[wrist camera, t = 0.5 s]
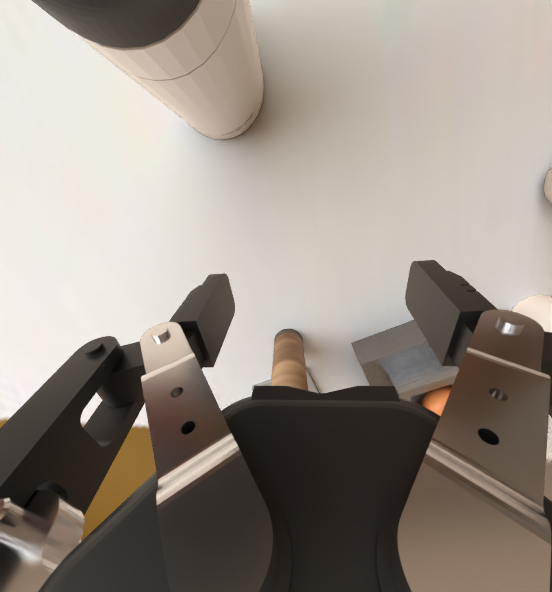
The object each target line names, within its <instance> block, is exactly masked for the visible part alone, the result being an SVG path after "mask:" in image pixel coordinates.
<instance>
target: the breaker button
mask: <svg viewBox="0 0 552 592" xmlns="http://www.w3.org/2000/svg"><path fill="white" fill-rule="evenodd" d="M452 386H453V385H447V386H444V387H441V388H438V389H435V390H431V391H428V392H427V393H426V394H425V395H424V396H423V398H422V401H421V406H423V407H425V408H427V409H429V410H431V411H433V412H435V413H436V414H438V415H439V416H441V414H442V411H443V409H444V406H445V404H446V401H447V399H448V396H449V394H450V391H451V389H452Z"/></svg>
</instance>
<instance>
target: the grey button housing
mask: <svg viewBox="0 0 552 592" xmlns="http://www.w3.org/2000/svg"><path fill="white" fill-rule="evenodd" d="M351 344H352V346H353V349H354V351H355V353H356V356H357V358H358V360H359V363H360V365H361V367H362V370H363V372H364V374H365V376H366V379H367V381H368V383H369V386H395V388H396V391H397V394H398V397H399V398H401V399H405V400H408V401H411V402H414V403H416V404H419V405H421V401H422V398H423V396H424V395H425V394H426V393H427V392H428V391H431V390H435V389H438V388H441V387H444V386H447V385H453V384H454V381H455V379H456V376H457V374H458V371H459V368H458V367H457V366H442V365H441V363H440V362H439V360H438V358H437V357H436V355H435V353H434V352H433V350H432V348H431V347H430V345H429V343H428V342H427V340H426V338H425V337H424V335H423V333H422V331H421V330H420V328H419V326H418V325H417V323H416V321H415V320H412V321H410V322H407V323H404V324H402V325H399V326H396V327H394V328H391V329H388V330H386V331H383V332H380V333H378V334H375V335H372V336H370V337H367V338H364V339H362V340H359V341H356V342H354V343H351Z"/></svg>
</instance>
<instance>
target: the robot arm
mask: <svg viewBox="0 0 552 592" xmlns="http://www.w3.org/2000/svg"><path fill="white" fill-rule="evenodd" d="M32 1H33V2H34V3H36V4H37V5H38V6H39V7H41V8H42V9H43V10H45V11H46V12H47V13H48V14H50V15H51V16H52V17H53V18H55V19H56V20H57V21H59V22H60V23H61V24H63V25H64V26H65V27H66V28H68V29H69V30H70V31H72V32H73V33H74V34H75V35H77V36H78V37H79V38H80V39H82V40H83V41H84V42H85V43H87V44H88V45H89V46H91V47H92V48H93V49H94V50H96V51H97V52H98V53H99V54H101V55H102V56H103V57H105V58H106V59H107V60H109V61H110V62H111V63H112V64H114V65H115V66H116V67H118V68H119V69H120V70H121V71H123V72H124V73H125V74H126V75H128V76H129V77H130V78H131V79H133V80H134V81H135V82H136V83H138V84H139V85H140V86H141V87H143V88H144V89H145V90H147V91H148V92H149V93H150V94H152V95H153V96H154V97H155V98H157V99H158V100H159V101H160V102H162V103H163V104H164V105H165V106H167V107H168V108H169V109H170V110H172V111H173V112H174V113H175V114H177V115H178V116H179V117H180V118H182V119H183V120H184V121H185V122H187V123H188V124H189V125H190V126H192V127H193V128H194V129H196V130H197V131H198V132H200V133H202V134H203V135H205V136H207V137H210V138H213V139H222V140H224V139H230V138H234V137H236V136H238V135H240V134H242V133H243V132H244V131H246V130H247V129H248V128H249V127H250V126H251V125H252V123H253V122H254V121H255V119H256V117H257V115H258V113H259V111H260V108H261V105H262V101H263V93H264V81H263V73H262V68H261V62H260V56H259V50H258V45H257V39H256V34H255V28H254V23H253V17H252V12H251V6H250V1H249V0H32ZM405 299H406V305H407V308H408V310H409V311H410V313H411V315H412V316H413V318H414V320H415V321H416V323H417V325H418V326H419V328H420V330H421V331H422V333H423V335H424V337H425V338H426V340H427V342H428V343H429V345H430V347H431V348H432V350H433V352H434V353H435V355H436V357H437V358H438V360H439V362H440V363H441V365H442V366H457V367H458V368H459V371H458V374H457V376H456V379H455V381H454V384H453V386H452V389H451V391H450V394H449V396H448V399H447V401H446V404H445V406H444V409H443V411H442V414H441V416H439V415H438V414H436V413H435V412H433V411H431V410H429V409H427V408H425V407H423V406H421V405H419V404H416V403H414V402H411V401H408V400H405V399H401V398H399V397H398V394H397V391H396V388H395V386H355V387H351V388H347V389H342V390H338V391H333V392H329V393H324V394H320V393H315V392H311V391H307V390H303V389H298V388H294V387H290V386H254V388H253V393H252V397H248V398H245V399H242V400H239V401H237V402H235V403H233V404H231V405H230V406H228V407H226V408H225V409H223V410H222V411H221V410H220V408H219V406H218V404H217V402H216V399H215V397H214V395H213V393H212V391H211V389H210V387H209V385H208V382H207V380H206V378H205V376H204V374H203V372H202V367H214V364H215V362H216V359H217V357H218V354H219V352H220V349H221V347H222V344H223V342H224V339H225V336H226V334H227V331H228V329H229V326H230V324H231V321H232V319H233V316H234V313H235V303H234V298H233V295H232V291H231V287H230V283H229V279H228V276H227V275H226V274H211V275H209V276H208V277H207V278H206V280H205V281H204V283H203V284H202V285H200V286H198V287H197V288H195V289H194V290H192V291H191V292H190V293H189V295H188V296H187V298H186V300H184V302H183V303H182V305H181V306H180V307H179V309H178V310H177V311H176V313H175V314H174V315H173V317H172V318H171V320H170V321H169V322H166V323H161V324H158V325H156V326H154V327H152V328H150V329H149V330H148V331H146V332H145V333H144V334H143V336H142V337H141V339H140V342H136V343H132V344H128V345H124V346H120V344H119V343H118V341H117V339H116V338H115V337H111V336H106V337H101V338H98V339H95V340H93V341H90V342H88V343H87V344H85V345H83V346H82V347H81V348H79V349H78V350H77V351H76V352H75V353H74V354H73V355H72V356H71V357H70V358H69V359H68V360H67V361H66V362H65V363H64V364H63V365H62V366H61V367H60V368H59V369H58V370H57V371H56V372H55V373H54V374H53V375H52V376H51V377H50V378H49V379H48V380H47V381H46V382H45V383H44V384H43V386H42V387H41V388H40V389H39V390H38V391H37V392H36V393H35V394H34V395H33V396H32V397H31V398H30V399H29V400H28V401H27V402H26V403H25V404H24V405H23V406H22V407H21V408H20V409H19V410H18V411H17V412H16V413H15V414H14V415H13V416H12V417H11V418H10V419H9V420H8V421H7V422H6V423H5V424H4V425H3V426H2V427H1V428H0V592H552V501H550V500H549V499H548V498H546V497H545V496H544V483H545V467H546V450H547V433H548V416H549V415H550V416H551V417H552V332H545V331H544V329H543V327H542V326H541V325H540V324H539V323H538V322H536V321H535V320H533V319H531V318H529V317H527V316H525V315H522V314H520V313H516V312H512V311H507V310H498V309H497V308H496V307H495V306H493V305H492V304H491V303H490V302H489V301H488V300H487V299H486V298H485V297H483V296H482V295H481V294H480V293H479V292H476V289H475V288H473V287H472V286H471V285H470V284H469V283H468V282H467V281H466V280H465V279H464V278H462V277H461V276H459V275H457V274H455V273H452V272H450V271H446V270H445V269H444V268H443V267H442V266H441V265H439V264H438V263H437V262H436V261H435V260H426V261H414V262H413V263H412V264H411V267H410V273H409V278H408V284H407V289H406V296H405ZM96 392H97V393H98V395H99V396H100V397H101V399H102V402H101V403H100V405H99V406H98V408H97V409H96V410H95V412H94V413H93V415H92V416H91V417H90V419H89V420H88V422H87V423H86V425H85V426H84V427H82V426H81V423H80V418H81V414H82V411H83V409H84V408H85V407H86V405H87V404H88V403H89V401H90V400H91V399H92V397H93V396H94V395H95V393H96ZM144 403H145V406H146V412H147V417H148V423H149V429H150V435H151V441H152V447H153V453H154V459H155V465H156V472H155V473H154V474H153V475H152V476H151V477H150V478H149V479H148V480H147V481H146V482H144V483H143V485H141V486H140V487H139V488H138V489H137V490H136V491H135V492H134V493H133V494H132V495H131V496H130V497H129V498H127V499H126V500H125V501H124V502H123V503H122V504H121V505H120V506H119V507H118V508H117V509H116V510H115V511H114V512H113V513H111V514H110V515H109V516H108V517H107V518H106V519H105V520H104V521H103V522H102V523H101V524H100V525H99V526H98V527H97V528H95V529H94V530H93V531H92V532H91V533H90V534H89V535H88V536H87V537H86V538H85V539H84V540H83V541H81V540H80V539H81V536H82V533H83V530H84V515H85V513H86V511H87V509H88V507H89V506H90V504H91V502H92V500H93V498H94V496H95V494H96V492H97V491H98V489H99V487H100V485H101V483H102V481H103V480H104V478H105V476H106V474H107V472H108V470H109V468H110V466H111V465H112V463H113V461H114V459H115V457H116V455H117V453H118V451H119V450H120V448H121V446H122V444H123V442H124V440H125V438H126V437H127V435H128V433H129V431H130V429H131V427H132V425H133V424H134V422H135V420H136V418H137V416H138V414H139V412H140V411H141V409H142V407H143V405H144Z"/></svg>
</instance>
